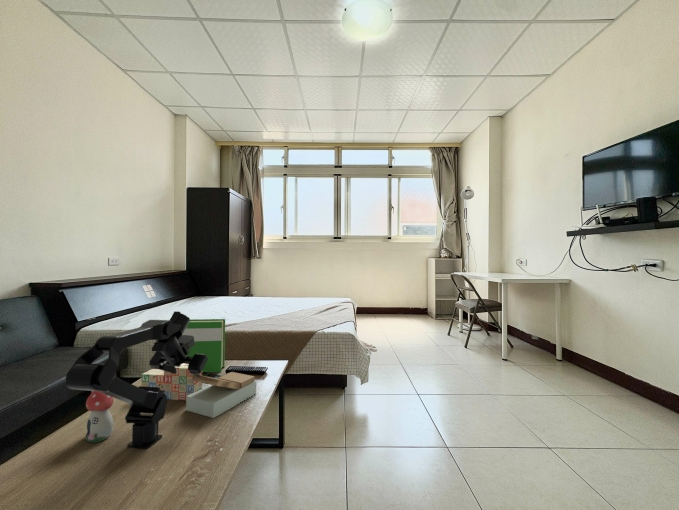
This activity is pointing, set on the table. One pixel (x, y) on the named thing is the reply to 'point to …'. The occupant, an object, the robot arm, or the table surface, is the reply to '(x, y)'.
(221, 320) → the hardback book
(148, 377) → the stack of blocks
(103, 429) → the decorative ornament
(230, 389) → the white box
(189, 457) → the table surface
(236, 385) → the board
